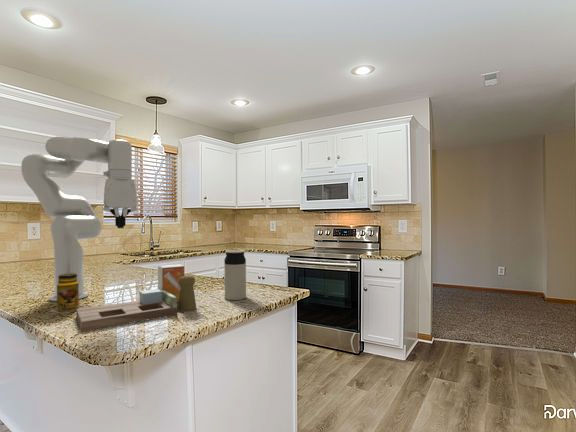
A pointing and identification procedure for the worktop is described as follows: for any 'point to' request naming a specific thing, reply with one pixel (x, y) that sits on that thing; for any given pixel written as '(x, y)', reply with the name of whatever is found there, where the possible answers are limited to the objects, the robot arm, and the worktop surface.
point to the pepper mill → (186, 294)
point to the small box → (170, 278)
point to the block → (150, 296)
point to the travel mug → (235, 275)
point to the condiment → (67, 294)
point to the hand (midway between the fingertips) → (120, 227)
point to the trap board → (126, 312)
